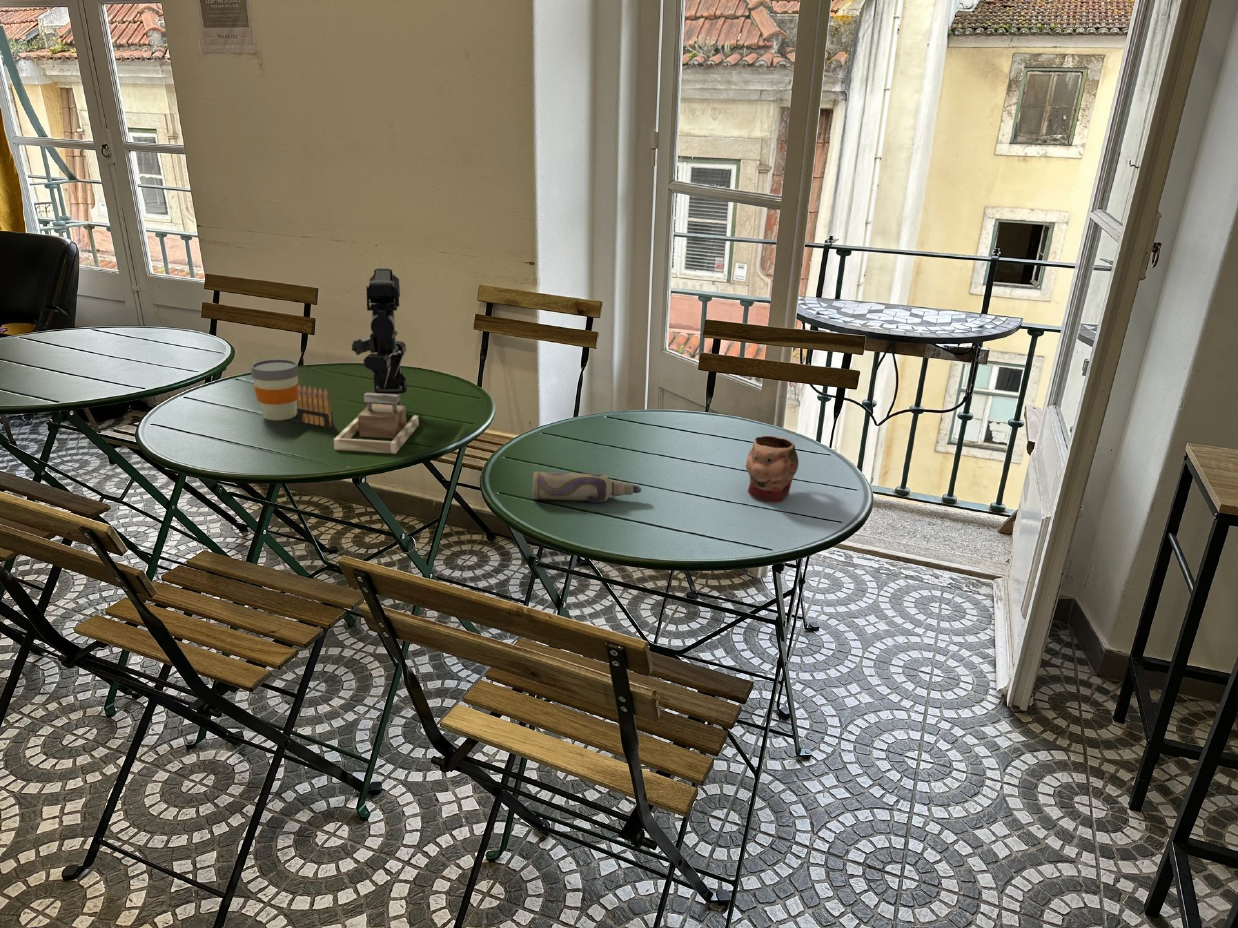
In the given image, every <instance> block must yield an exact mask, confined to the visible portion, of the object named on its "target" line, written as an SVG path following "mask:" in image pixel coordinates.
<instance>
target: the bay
mask: <svg viewBox="0 0 1238 928" xmlns="http://www.w3.org/2000/svg"><path fill="white" fill-rule="evenodd" d="M419 420H420V419H419V415H416V414H414V415H413V416H411V418H410V419H409V420H408V422H407V424H406V425H405V427H404V428H403V429H402V430H401V431H400V432H399V434H398V435H397V436H396V437H395V438H392V441H391V440H379V439H378V440H376V439H375V440H374V439H361V438H360V439H358V438H353V437H354V436H355V434H356V433H357V432H359V421H358V416H356V417H355V418H354V419H353V421H351V422H350V423H348V425H347V426H346V427H345V428H344V429H342V431H341V432H340V433H339V434H338V435H336V437H334V438H333V447H334V450H336V451H351V452H367V453H368V452H369V453H380V454H382V453H383V454H397V452H398V451H399V450H400V449H401V448H402V446H403V445H405V443H406V441H407V440H408V439H409V438H410V436H411V435H412V434H413V432H414V431H416V430H417V428H418V427H419V425H420V423H419Z"/></svg>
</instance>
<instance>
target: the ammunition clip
mask: <svg viewBox="0 0 1238 928" xmlns="http://www.w3.org/2000/svg"><path fill="white" fill-rule="evenodd" d="M329 397H330V396H329V393H328V390H327V389H326V388H325V389H324V392H323V390H322V388H321V387H320V388H319V390H317V387H316V386H314V388H313V390H312V387H311V386H308V389H307V386H306V385H303V387H302V386H301V384H300V383H299V385H298V399H297V420H298V426H299V427H304V428H310V429H311V428H312V427H314V426H321V427H325V428H332V427H334V420H333V419H334V417H333V412H332V411H331V410H332V409H331V408H332V407H331V402H330V398H329Z"/></svg>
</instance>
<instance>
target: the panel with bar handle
mask: <svg viewBox="0 0 1238 928" xmlns="http://www.w3.org/2000/svg"><path fill="white" fill-rule="evenodd" d="M363 401H364V403H366V407H365V408H364V409H363V410H362V411H360V412H359V414H357V417H358V421H359V430H358V433H359V437H366V438H384V439H394V438H395V437H396V436H397V435H398V434H399V432H400V431H401V430H402V429H403V428H404V427H405V425H406V424H407V423H408V422H407V408H406V407H407V405H401V406H400V405H397V403H398V402H399V395H396V394H380V393H375V392H365V393H364V394H363ZM381 403H390V404H392V405H385V404H381Z"/></svg>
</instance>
